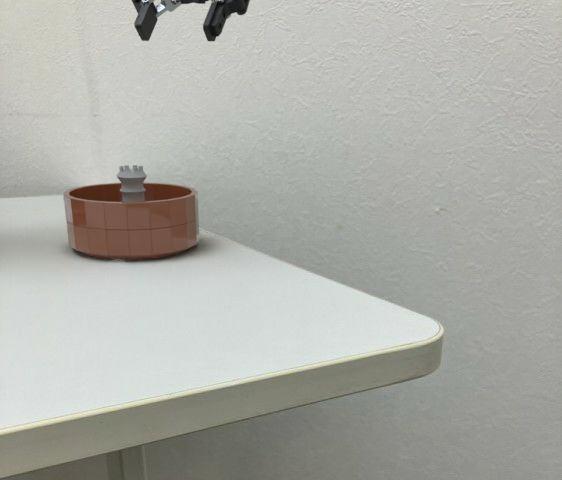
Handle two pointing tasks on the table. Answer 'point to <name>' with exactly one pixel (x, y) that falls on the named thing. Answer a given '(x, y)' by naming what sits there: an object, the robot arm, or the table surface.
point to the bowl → (132, 221)
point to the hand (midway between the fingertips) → (174, 35)
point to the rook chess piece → (132, 183)
